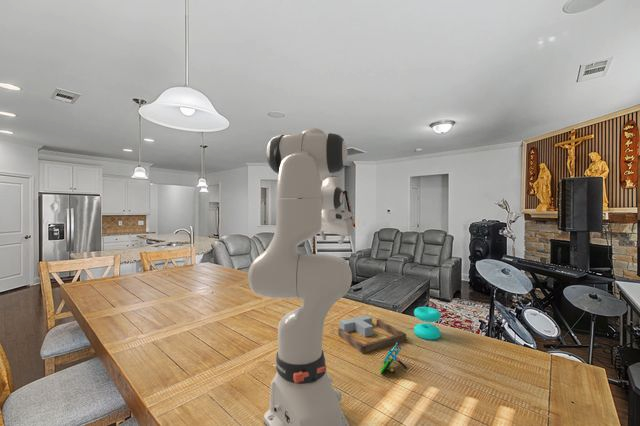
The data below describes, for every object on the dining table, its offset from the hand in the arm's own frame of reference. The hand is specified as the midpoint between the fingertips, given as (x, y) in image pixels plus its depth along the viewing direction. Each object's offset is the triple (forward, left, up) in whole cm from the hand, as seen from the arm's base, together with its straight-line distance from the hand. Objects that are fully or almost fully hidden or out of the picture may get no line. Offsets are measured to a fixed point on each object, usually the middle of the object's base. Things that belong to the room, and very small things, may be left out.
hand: (332, 241), depth 128 cm
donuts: (-32, -25, -35) cm, 54 cm away
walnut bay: (-23, -4, -35) cm, 42 cm away
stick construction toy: (-44, +3, -36) cm, 56 cm away
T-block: (-17, -4, -35) cm, 39 cm away
